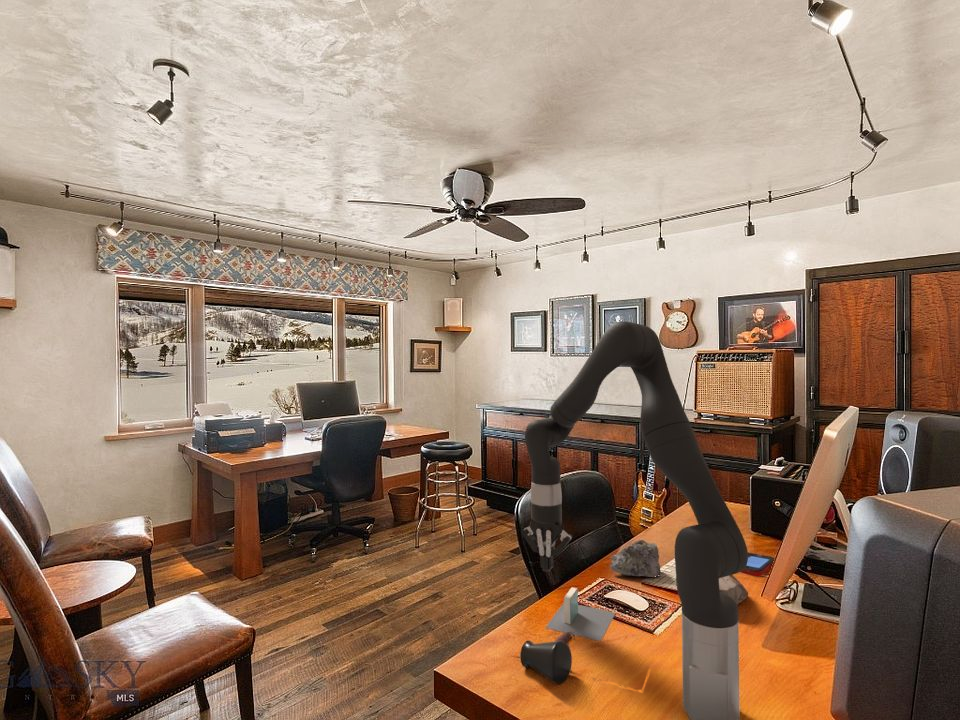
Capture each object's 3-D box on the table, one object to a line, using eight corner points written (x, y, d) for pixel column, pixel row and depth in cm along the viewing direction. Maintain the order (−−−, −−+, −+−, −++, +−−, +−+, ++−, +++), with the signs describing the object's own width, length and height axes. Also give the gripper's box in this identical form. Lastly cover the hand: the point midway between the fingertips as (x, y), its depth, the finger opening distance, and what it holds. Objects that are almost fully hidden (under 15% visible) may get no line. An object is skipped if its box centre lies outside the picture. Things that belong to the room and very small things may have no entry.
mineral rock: (608, 575, 149) (608, 540, 149) (620, 562, 158) (620, 529, 158) (654, 586, 142) (653, 549, 142) (664, 571, 151) (663, 537, 151)
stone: (722, 622, 123) (753, 593, 123) (693, 590, 128) (723, 563, 128) (721, 619, 136) (750, 593, 136) (695, 590, 140) (722, 565, 140)
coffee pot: (553, 690, 98) (517, 680, 104) (600, 660, 111) (566, 652, 117) (550, 647, 100) (515, 639, 105) (597, 623, 113) (563, 616, 118)
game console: (734, 553, 165) (734, 546, 165) (778, 565, 156) (778, 557, 156) (714, 566, 156) (714, 558, 156) (759, 579, 146) (759, 571, 146)
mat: (600, 643, 114) (600, 641, 114) (545, 629, 120) (545, 627, 120) (615, 614, 127) (615, 612, 127) (564, 603, 133) (564, 601, 133)
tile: (570, 624, 122) (570, 598, 122) (564, 622, 122) (563, 597, 122) (578, 612, 127) (577, 588, 127) (572, 611, 128) (571, 587, 128)
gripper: (515, 500, 127) (516, 570, 127) (567, 507, 121) (567, 581, 121) (527, 493, 134) (527, 559, 134) (576, 499, 128) (577, 569, 128)
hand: (546, 569), depth 128 cm, fingers closed
